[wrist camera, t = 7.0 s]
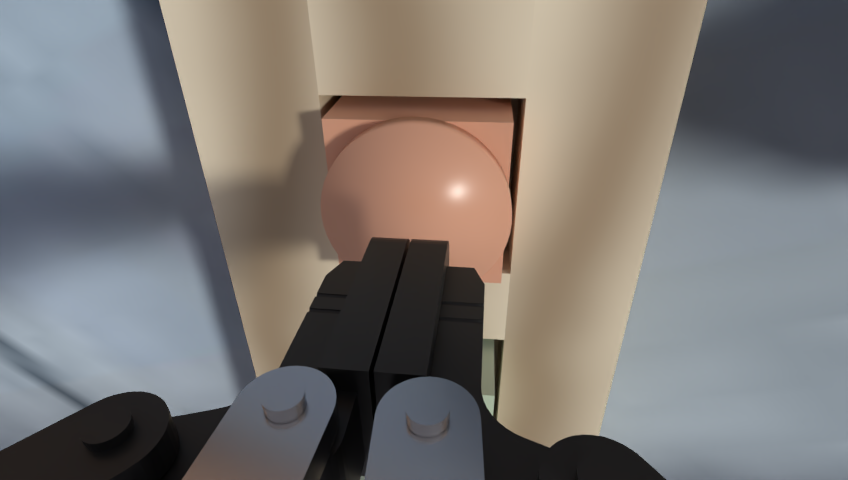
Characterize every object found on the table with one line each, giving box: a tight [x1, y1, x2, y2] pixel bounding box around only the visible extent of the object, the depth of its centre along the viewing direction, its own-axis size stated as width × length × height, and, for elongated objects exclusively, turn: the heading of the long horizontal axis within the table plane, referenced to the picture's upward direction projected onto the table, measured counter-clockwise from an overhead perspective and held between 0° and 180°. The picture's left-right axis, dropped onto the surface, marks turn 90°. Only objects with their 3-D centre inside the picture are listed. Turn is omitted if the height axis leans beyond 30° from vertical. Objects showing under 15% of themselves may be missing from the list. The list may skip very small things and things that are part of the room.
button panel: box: [159, 0, 708, 448], centre depth 19 cm, size 12×25×3 cm, turn 1°
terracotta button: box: [321, 95, 514, 283], centre depth 13 cm, size 5×5×3 cm
